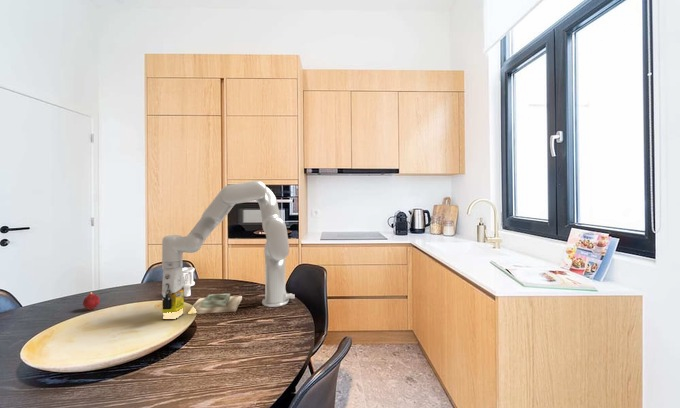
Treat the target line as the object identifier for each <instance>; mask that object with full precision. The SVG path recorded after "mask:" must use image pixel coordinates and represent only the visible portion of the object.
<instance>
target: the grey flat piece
mask: <svg viewBox="0 0 680 408" xmlns="http://www.w3.org/2000/svg"><path fill="white" fill-rule="evenodd" d="M242 299H243V296H242V295H234V296H232V295H231V293H218V294H217V293H215V294H208V295H206V297H200V298H198V299H197V300H196V301H195V302H194V303H193V305H192V306H194V308H195V309H196V311H197V314H196V315H198V314H199V315H202V314H213V313H215V314H216V313H229V312H230V313H231V312H237V310H238V307H239V306H240V304H241V302H242Z"/></svg>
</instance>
